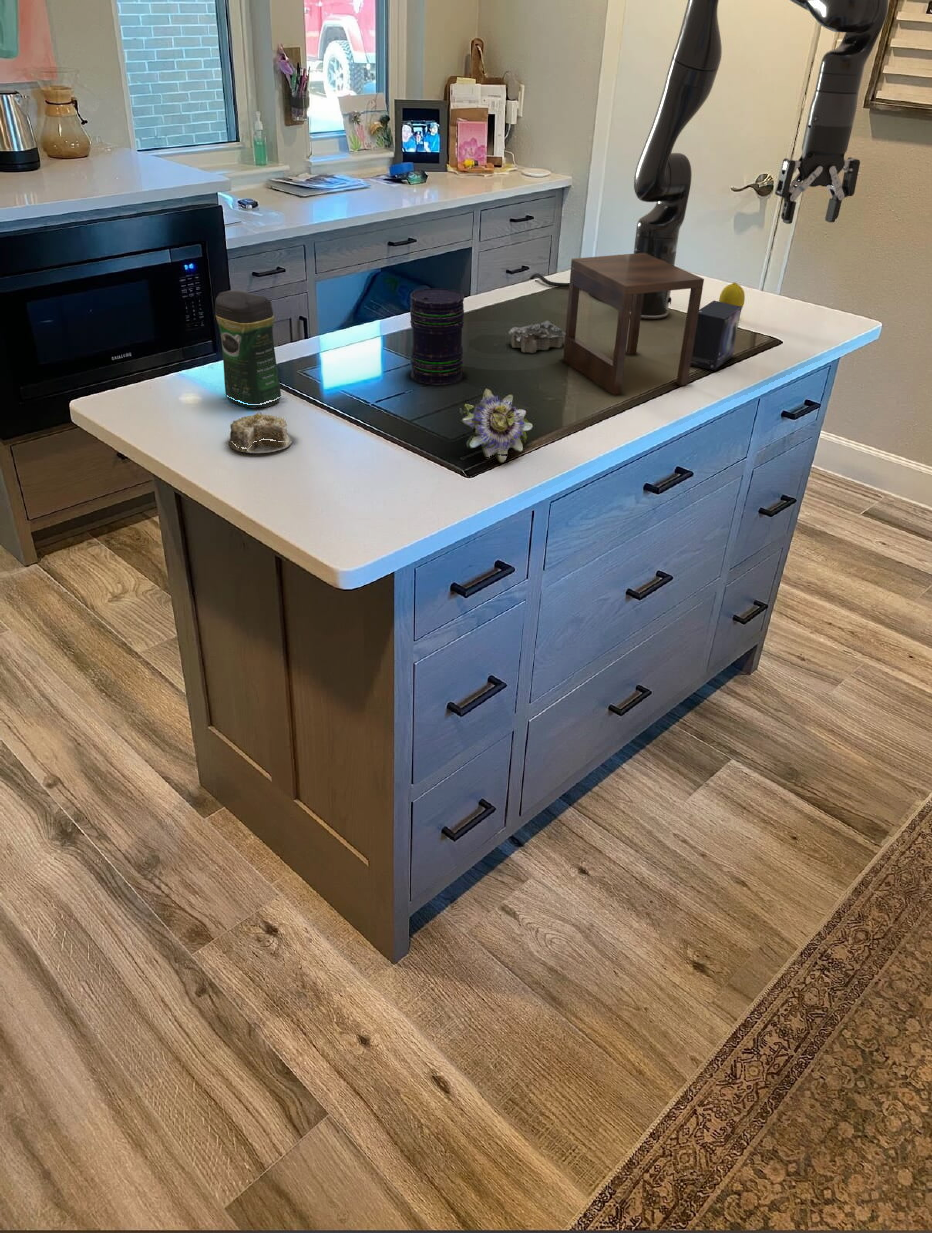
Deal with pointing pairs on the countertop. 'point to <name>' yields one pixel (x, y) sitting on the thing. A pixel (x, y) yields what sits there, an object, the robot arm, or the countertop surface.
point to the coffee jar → (248, 348)
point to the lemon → (733, 295)
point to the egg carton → (537, 337)
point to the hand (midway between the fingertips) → (808, 222)
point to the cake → (259, 434)
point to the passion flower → (496, 425)
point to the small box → (715, 334)
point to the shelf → (625, 310)
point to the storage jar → (436, 335)
